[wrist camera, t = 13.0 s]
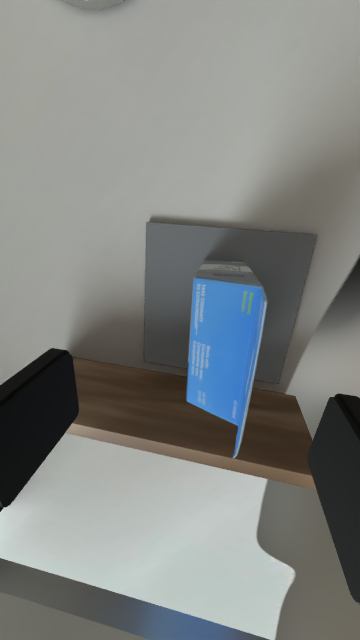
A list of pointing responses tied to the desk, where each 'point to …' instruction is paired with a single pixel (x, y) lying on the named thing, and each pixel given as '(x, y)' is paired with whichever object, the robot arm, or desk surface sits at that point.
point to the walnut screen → (190, 423)
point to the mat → (221, 245)
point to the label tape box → (225, 340)
